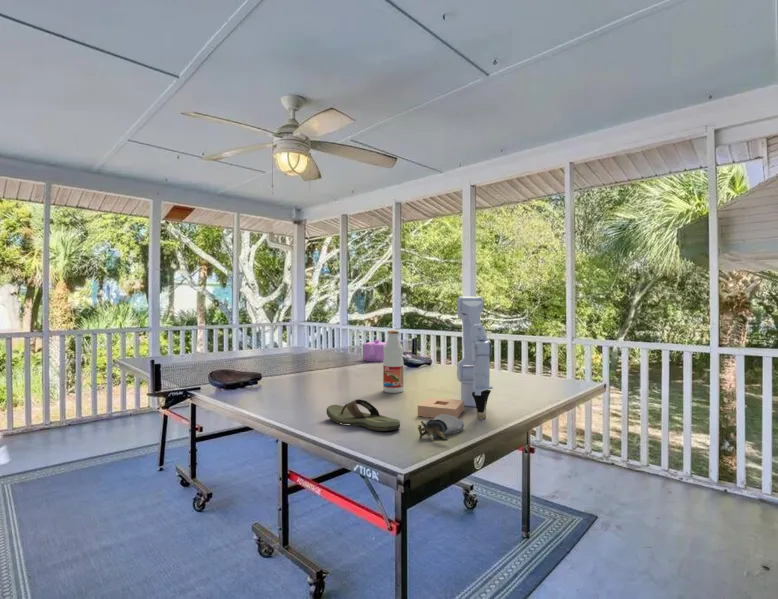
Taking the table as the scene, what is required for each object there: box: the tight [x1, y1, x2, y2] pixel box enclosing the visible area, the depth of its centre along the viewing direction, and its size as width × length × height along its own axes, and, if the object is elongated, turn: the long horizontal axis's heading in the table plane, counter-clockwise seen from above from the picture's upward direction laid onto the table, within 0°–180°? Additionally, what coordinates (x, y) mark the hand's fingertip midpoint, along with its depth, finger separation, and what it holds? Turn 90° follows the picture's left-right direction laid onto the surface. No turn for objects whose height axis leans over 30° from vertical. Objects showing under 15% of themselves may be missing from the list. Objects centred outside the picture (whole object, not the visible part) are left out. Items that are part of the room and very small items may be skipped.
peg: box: [476, 402, 487, 419], centre depth 159 cm, size 3×3×7 cm
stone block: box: [424, 414, 465, 436], centre depth 144 cm, size 12×5×10 cm
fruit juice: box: [382, 330, 405, 394], centre depth 203 cm, size 9×9×28 cm
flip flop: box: [326, 398, 401, 432], centre depth 152 cm, size 29×12×8 cm, turn 52°
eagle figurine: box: [417, 419, 448, 442], centre depth 136 cm, size 8×7×9 cm
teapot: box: [362, 339, 387, 363], centre depth 298 cm, size 15×25×14 cm, turn 159°
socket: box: [417, 396, 465, 419], centre depth 165 cm, size 14×14×4 cm
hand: (481, 411), depth 159 cm, fingers closed on peg, 3 cm apart
